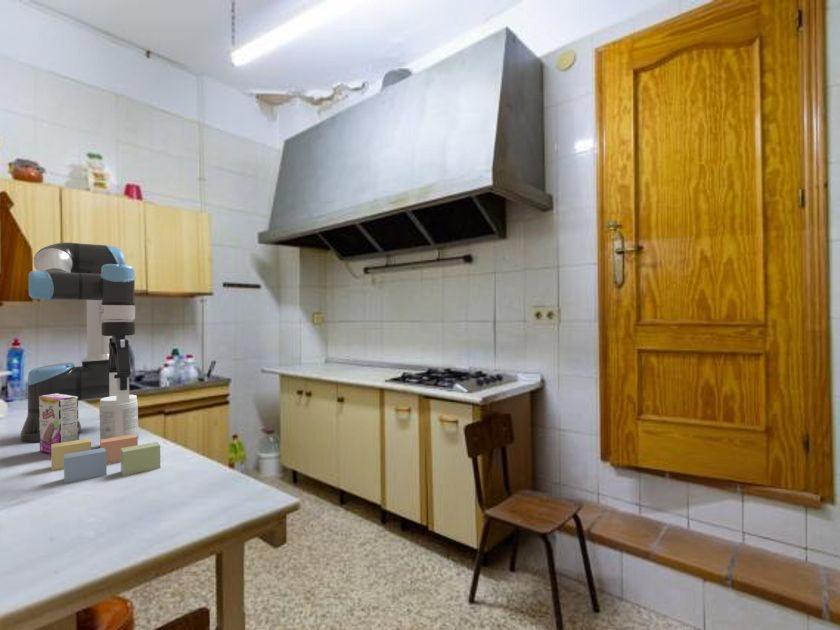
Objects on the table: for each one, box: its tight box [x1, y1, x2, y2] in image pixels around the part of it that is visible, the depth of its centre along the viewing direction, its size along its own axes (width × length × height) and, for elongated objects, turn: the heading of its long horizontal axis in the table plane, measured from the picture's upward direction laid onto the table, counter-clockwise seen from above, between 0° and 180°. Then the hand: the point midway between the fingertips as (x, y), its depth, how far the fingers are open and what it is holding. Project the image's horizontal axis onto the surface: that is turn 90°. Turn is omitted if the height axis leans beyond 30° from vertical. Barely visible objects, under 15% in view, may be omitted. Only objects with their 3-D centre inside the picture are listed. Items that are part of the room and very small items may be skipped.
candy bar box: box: [39, 393, 80, 455], centre depth 125 cm, size 11×5×16 cm, turn 65°
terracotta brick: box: [99, 434, 139, 465], centre depth 119 cm, size 8×4×6 cm, turn 132°
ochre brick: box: [50, 437, 92, 471], centre depth 115 cm, size 8×4×6 cm, turn 132°
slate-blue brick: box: [63, 448, 108, 484], centre depth 106 cm, size 8×4×6 cm, turn 132°
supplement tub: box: [99, 394, 140, 441], centre depth 132 cm, size 10×10×15 cm
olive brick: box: [120, 441, 161, 477], centre depth 111 cm, size 8×4×6 cm, turn 132°
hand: (118, 398), depth 118 cm, fingers open, 13 cm apart
